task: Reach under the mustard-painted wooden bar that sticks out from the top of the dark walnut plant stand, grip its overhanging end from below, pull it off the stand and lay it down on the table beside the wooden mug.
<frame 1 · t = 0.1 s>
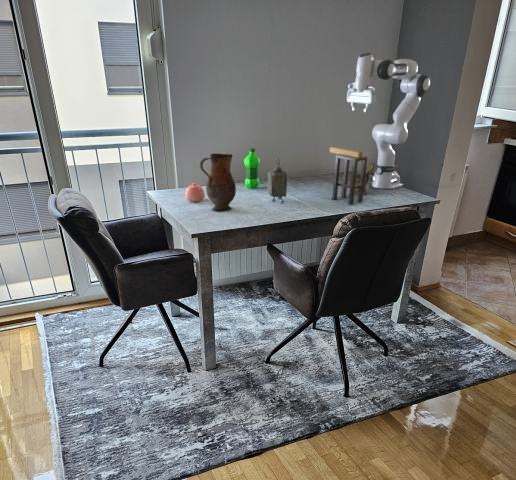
hand: (359, 111, 283), 48 cm above the table, tool pointing down, fingers open, 8 cm apart
stand: (347, 200, 291), on the table
plastic bottle: (252, 188, 319), on the table
pitcher: (218, 210, 272), on the table
sugar bowl: (196, 200, 290), on the table
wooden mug: (361, 193, 308), on the table
tabletop clock: (276, 201, 289), on the table
bar: (345, 154, 281), point 26 cm above the table, touching stand
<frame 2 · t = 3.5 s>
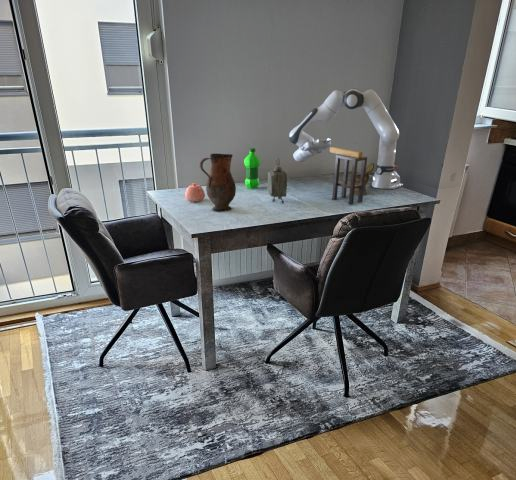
hand: (324, 139, 299), 31 cm above the table, tool pointing upward, fingers open, 8 cm apart
nothing on the table moved.
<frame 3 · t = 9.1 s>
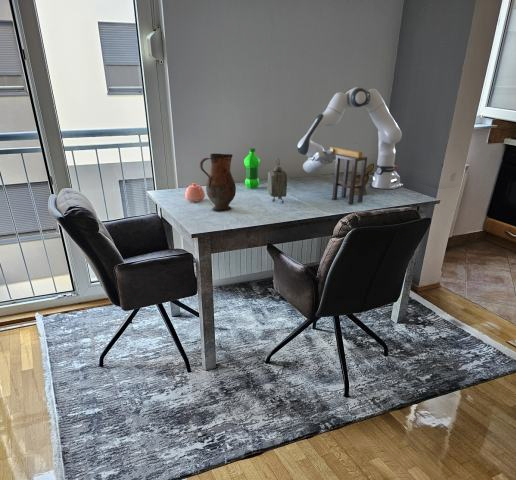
hand: (336, 149, 285), 28 cm above the table, tool pointing upward, fingers closed on bar, 3 cm apart
bar: (345, 154, 281), point 26 cm above the table, touching gripper, stand
everything else where it was.
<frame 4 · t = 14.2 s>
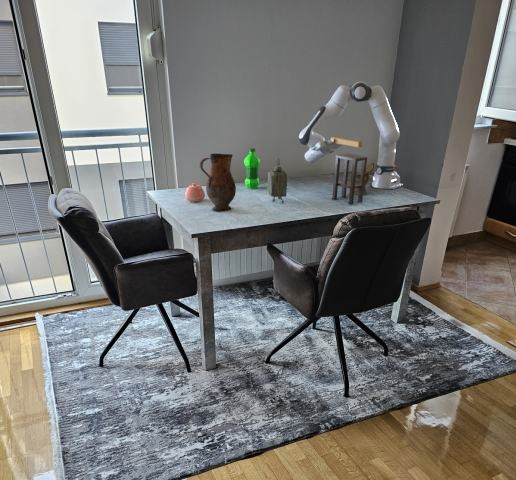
hand: (336, 139, 295), 32 cm above the table, tool pointing upward, fingers closed on bar, 3 cm apart
bar: (345, 144, 291), point 30 cm above the table, touching gripper
everything else where it was.
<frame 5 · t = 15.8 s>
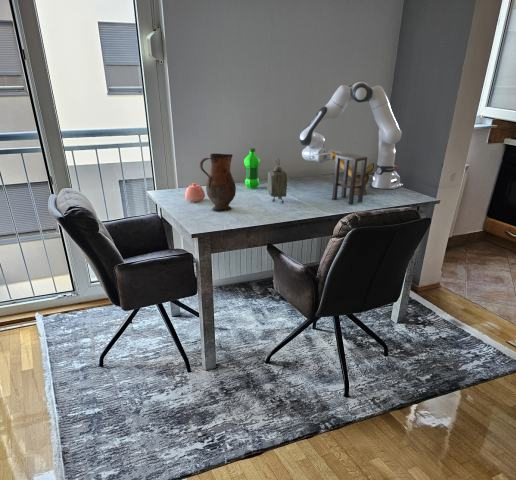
hand: (335, 156, 300), 22 cm above the table, tool horizontal, fingers closed on bar, 3 cm apart
bar: (342, 167, 299), point 16 cm above the table, tilted 26°, touching gripper
everything else where it was.
when the fingers open (12 cm above the table, at t = 19.6 s): bar drops 6 cm, on the table.
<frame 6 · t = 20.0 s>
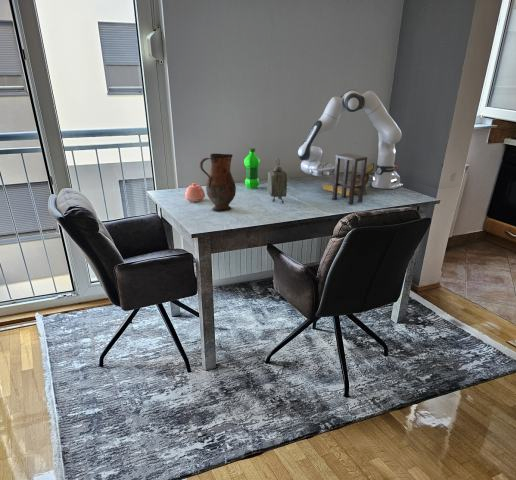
hand: (334, 172, 306), 12 cm above the table, tool horizontal, fingers open, 7 cm apart
bar: (337, 192, 309), on the table
everything else where it was.
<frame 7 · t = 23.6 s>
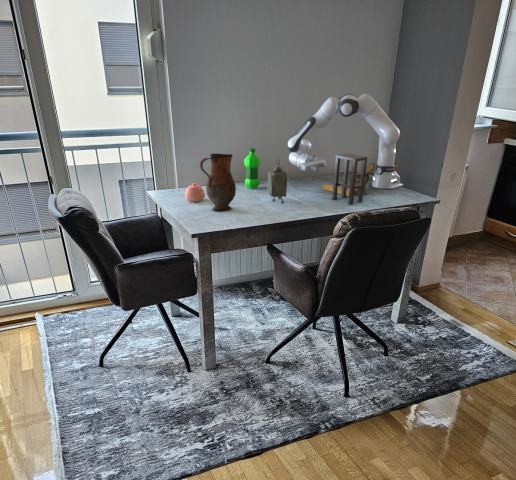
hand: (321, 167, 314), 13 cm above the table, tool horizontal, fingers open, 8 cm apart
nothing on the table moved.
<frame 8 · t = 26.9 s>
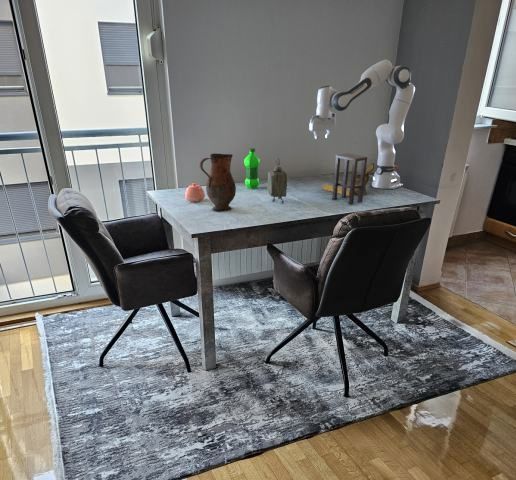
hand: (321, 138, 305), 31 cm above the table, tool pointing down, fingers open, 8 cm apart
nothing on the table moved.
at the end: bar inside the target area (0.7 cm from its centre), on the table; the gripper is holding nothing; bar 16.1 cm from the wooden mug (horizontally) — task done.
